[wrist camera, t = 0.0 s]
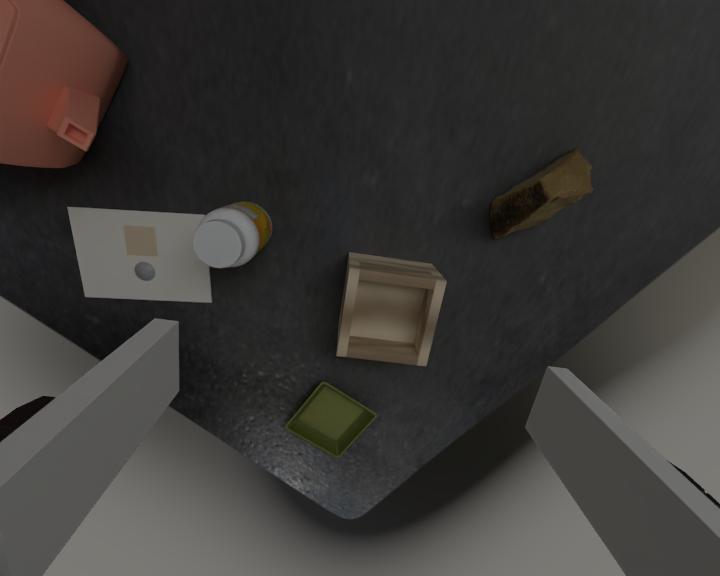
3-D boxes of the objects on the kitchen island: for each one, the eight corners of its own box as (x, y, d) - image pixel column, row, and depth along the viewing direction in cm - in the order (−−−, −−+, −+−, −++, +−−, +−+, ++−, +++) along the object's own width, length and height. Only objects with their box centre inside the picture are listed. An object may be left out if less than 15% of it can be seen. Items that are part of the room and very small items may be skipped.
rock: (597, 114, 34) (501, 132, 33) (661, 170, 29) (550, 193, 28) (550, 201, 43) (473, 217, 42) (593, 254, 38) (508, 273, 37)
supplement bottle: (261, 259, 40) (235, 287, 30) (214, 236, 39) (174, 258, 30) (280, 215, 38) (260, 231, 29) (233, 191, 37) (196, 200, 28)
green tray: (285, 417, 47) (282, 428, 45) (323, 371, 45) (322, 380, 43) (338, 447, 49) (338, 459, 47) (377, 404, 47) (378, 415, 45)
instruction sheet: (68, 206, 37) (66, 206, 37) (205, 214, 38) (204, 215, 38) (86, 296, 40) (84, 297, 40) (212, 302, 41) (211, 302, 41)
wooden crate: (349, 252, 40) (349, 268, 34) (431, 263, 41) (446, 281, 34) (337, 328, 43) (336, 355, 37) (414, 337, 44) (426, 366, 37)
